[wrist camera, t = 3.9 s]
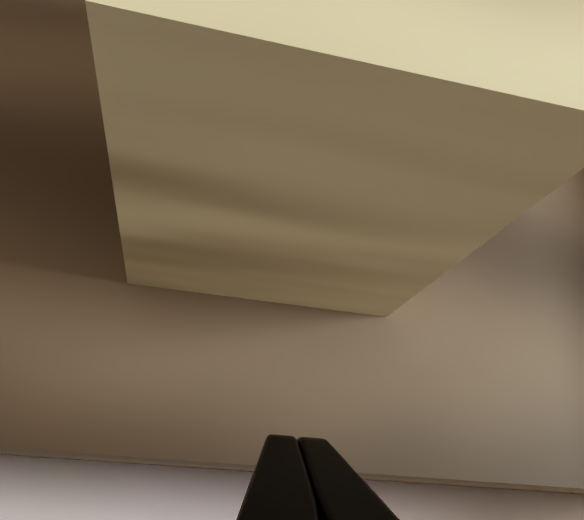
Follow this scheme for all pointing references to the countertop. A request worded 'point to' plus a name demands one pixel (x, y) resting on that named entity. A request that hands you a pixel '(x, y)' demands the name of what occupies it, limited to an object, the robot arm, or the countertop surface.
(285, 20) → the maple block
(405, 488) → the countertop surface
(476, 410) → the trap box
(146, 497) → the countertop surface
